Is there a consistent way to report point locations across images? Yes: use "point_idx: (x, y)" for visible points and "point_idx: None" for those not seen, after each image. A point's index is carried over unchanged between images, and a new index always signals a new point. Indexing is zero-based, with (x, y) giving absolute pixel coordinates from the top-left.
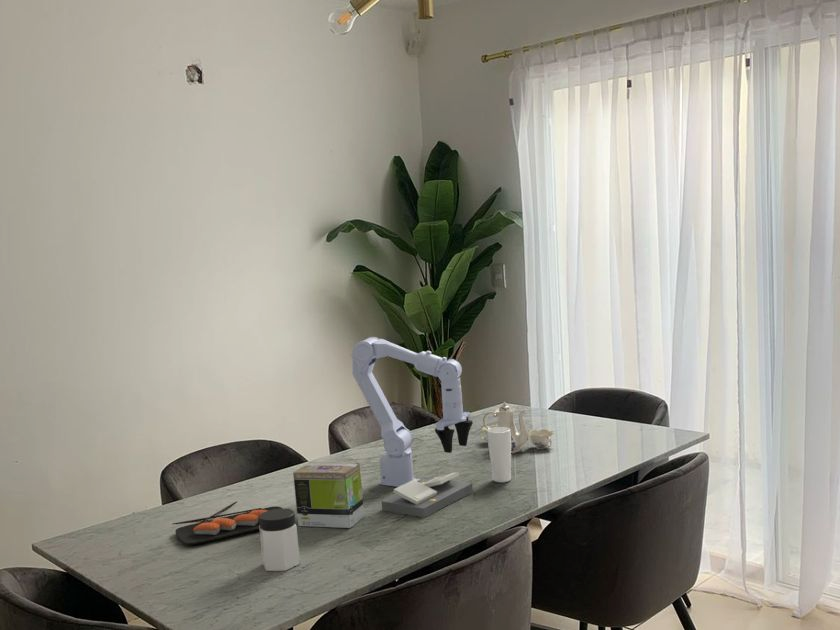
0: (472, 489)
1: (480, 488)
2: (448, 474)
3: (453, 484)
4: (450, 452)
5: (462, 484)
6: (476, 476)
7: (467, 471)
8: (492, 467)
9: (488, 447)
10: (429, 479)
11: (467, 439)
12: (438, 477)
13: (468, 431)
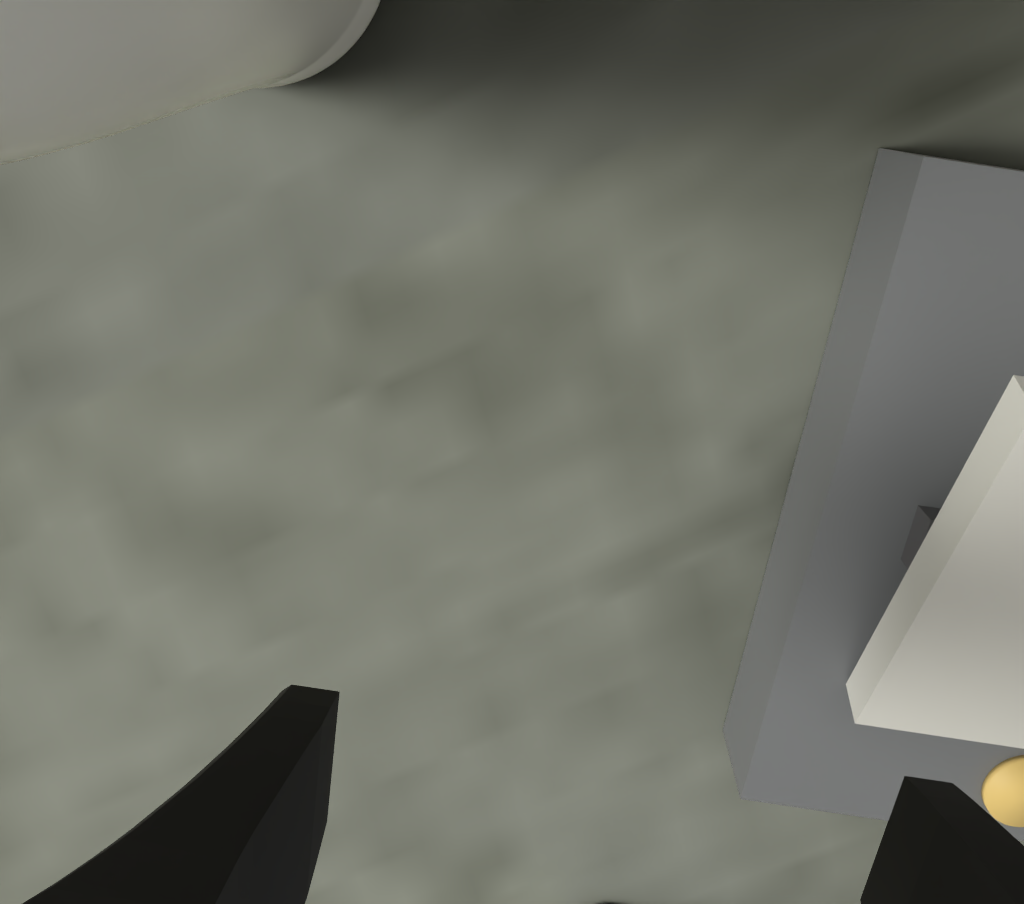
0: (892, 151)
1: (698, 108)
2: (1009, 556)
3: None
4: (952, 786)
5: (1000, 283)
6: (222, 387)
7: (81, 576)
8: (328, 26)
9: (151, 114)
10: (827, 790)
11: (229, 749)
12: (997, 672)
13: (107, 896)
